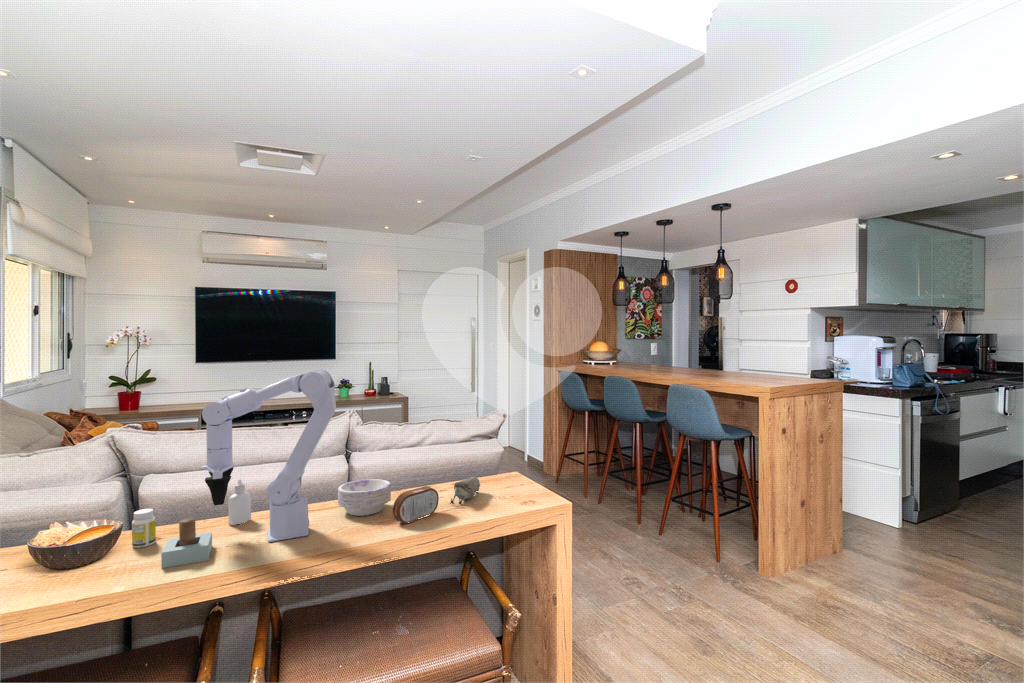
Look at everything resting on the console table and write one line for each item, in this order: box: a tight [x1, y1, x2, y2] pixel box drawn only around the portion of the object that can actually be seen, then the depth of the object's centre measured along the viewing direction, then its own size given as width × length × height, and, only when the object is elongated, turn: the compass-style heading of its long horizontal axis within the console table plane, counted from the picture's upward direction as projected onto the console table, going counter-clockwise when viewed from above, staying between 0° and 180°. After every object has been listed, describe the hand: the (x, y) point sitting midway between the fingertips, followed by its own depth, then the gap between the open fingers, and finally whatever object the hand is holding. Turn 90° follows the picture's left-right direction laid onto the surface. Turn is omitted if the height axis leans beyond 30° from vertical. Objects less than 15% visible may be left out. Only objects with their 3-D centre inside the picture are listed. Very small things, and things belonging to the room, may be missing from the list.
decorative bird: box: [449, 476, 481, 506], centre depth 158 cm, size 5×16×8 cm, turn 160°
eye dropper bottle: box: [228, 479, 252, 526], centre depth 140 cm, size 4×6×12 cm
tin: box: [392, 485, 440, 524], centre depth 141 cm, size 15×3×8 cm, turn 140°
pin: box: [178, 517, 197, 546], centre depth 117 cm, size 3×3×8 cm
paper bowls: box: [337, 478, 392, 517], centre depth 148 cm, size 15×15×8 cm
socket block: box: [160, 531, 213, 569], centre depth 117 cm, size 9×9×4 cm
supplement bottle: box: [131, 508, 157, 549], centre depth 125 cm, size 5×5×8 cm
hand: (220, 500), depth 128 cm, fingers open, 7 cm apart
